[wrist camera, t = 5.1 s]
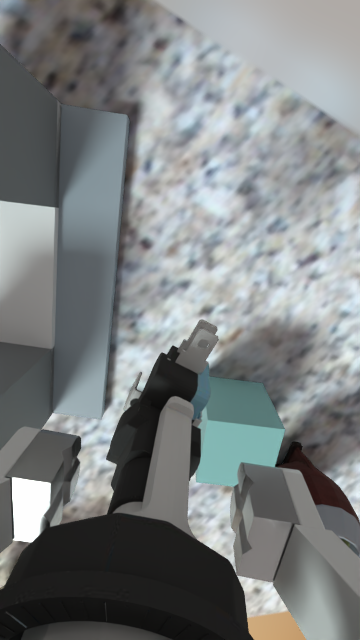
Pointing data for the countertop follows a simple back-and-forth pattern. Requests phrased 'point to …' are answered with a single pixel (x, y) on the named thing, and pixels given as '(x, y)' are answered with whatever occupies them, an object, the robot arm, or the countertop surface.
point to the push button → (136, 532)
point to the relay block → (237, 430)
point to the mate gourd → (326, 499)
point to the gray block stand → (55, 250)
